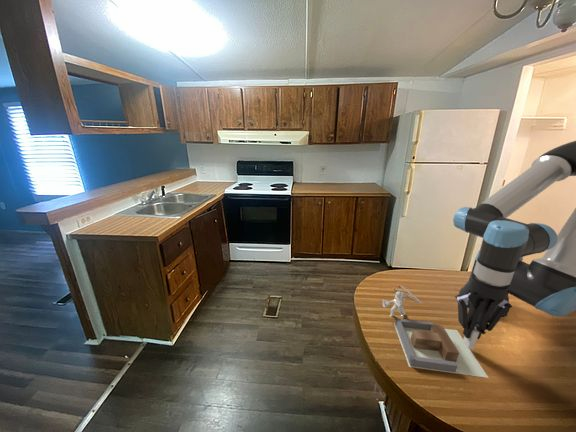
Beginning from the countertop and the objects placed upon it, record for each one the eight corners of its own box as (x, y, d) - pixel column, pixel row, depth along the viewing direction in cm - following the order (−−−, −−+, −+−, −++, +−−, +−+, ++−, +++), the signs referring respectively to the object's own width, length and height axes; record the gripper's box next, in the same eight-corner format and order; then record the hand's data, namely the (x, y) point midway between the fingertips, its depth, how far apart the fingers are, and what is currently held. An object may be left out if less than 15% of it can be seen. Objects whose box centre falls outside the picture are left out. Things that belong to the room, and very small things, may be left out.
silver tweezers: (392, 289, 98) (393, 286, 98) (399, 286, 100) (400, 283, 100) (431, 319, 84) (432, 315, 83) (438, 315, 86) (440, 311, 85)
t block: (439, 334, 74) (442, 325, 73) (455, 363, 65) (459, 353, 64) (406, 331, 76) (408, 321, 74) (418, 358, 67) (420, 348, 65)
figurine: (408, 320, 82) (415, 292, 78) (387, 326, 79) (393, 298, 75) (398, 310, 86) (404, 284, 82) (378, 316, 83) (383, 289, 79)
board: (456, 332, 76) (458, 324, 75) (487, 380, 62) (491, 371, 60) (393, 325, 79) (394, 317, 78) (408, 369, 65) (410, 360, 63)
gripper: (508, 272, 63) (484, 337, 71) (455, 268, 65) (438, 332, 73) (530, 289, 56) (501, 359, 64) (471, 285, 58) (450, 353, 66)
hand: (468, 345), depth 68 cm, fingers closed
